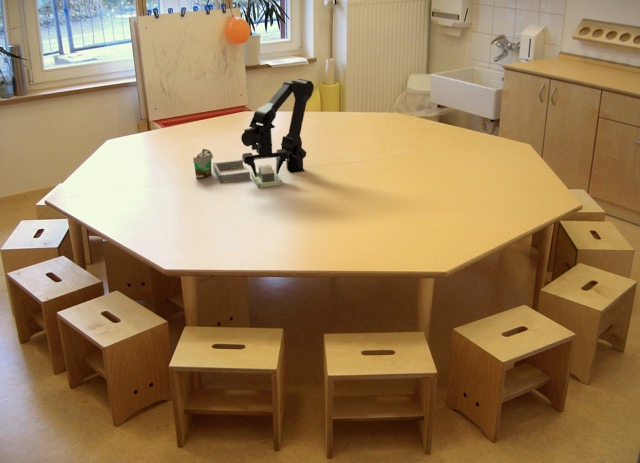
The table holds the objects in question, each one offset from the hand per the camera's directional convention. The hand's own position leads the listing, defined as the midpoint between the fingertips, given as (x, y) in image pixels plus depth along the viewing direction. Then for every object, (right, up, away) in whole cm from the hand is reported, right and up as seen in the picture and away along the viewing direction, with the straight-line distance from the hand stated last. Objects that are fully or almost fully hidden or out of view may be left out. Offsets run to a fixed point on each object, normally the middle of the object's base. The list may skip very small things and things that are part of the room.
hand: (266, 175), depth 320 cm
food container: (-26, +1, +8) cm, 28 cm away
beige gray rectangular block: (0, -2, +1) cm, 2 cm away
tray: (0, -2, +1) cm, 2 cm away
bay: (-16, +1, +9) cm, 18 cm away
